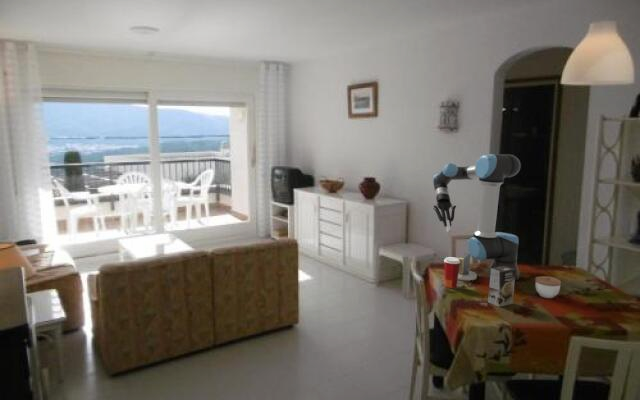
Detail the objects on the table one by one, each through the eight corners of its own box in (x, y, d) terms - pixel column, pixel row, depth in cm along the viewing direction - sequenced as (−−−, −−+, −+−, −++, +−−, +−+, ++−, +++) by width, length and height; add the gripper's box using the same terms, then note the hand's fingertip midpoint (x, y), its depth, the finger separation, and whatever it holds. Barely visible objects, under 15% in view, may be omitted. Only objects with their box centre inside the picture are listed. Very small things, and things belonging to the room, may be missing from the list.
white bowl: (536, 290, 219) (538, 271, 218) (561, 295, 213) (563, 276, 212) (531, 296, 210) (533, 277, 209) (557, 301, 204) (559, 282, 203)
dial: (461, 268, 245) (462, 252, 244) (472, 270, 242) (473, 254, 240) (453, 275, 234) (454, 258, 232) (464, 277, 230) (465, 260, 229)
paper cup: (457, 284, 226) (458, 257, 224) (460, 289, 219) (462, 261, 216) (441, 283, 227) (442, 256, 225) (443, 288, 219) (445, 260, 217)
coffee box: (499, 307, 197) (501, 271, 195) (487, 302, 203) (490, 267, 200) (513, 303, 201) (516, 269, 199) (501, 298, 207) (504, 265, 204)
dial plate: (480, 276, 239) (481, 272, 239) (470, 282, 228) (470, 279, 228) (455, 270, 248) (456, 267, 248) (444, 276, 237) (444, 273, 237)
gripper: (452, 200, 266) (459, 234, 252) (430, 200, 266) (435, 234, 252) (455, 193, 260) (462, 227, 246) (432, 192, 260) (438, 227, 246)
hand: (448, 231), depth 249 cm, fingers closed
